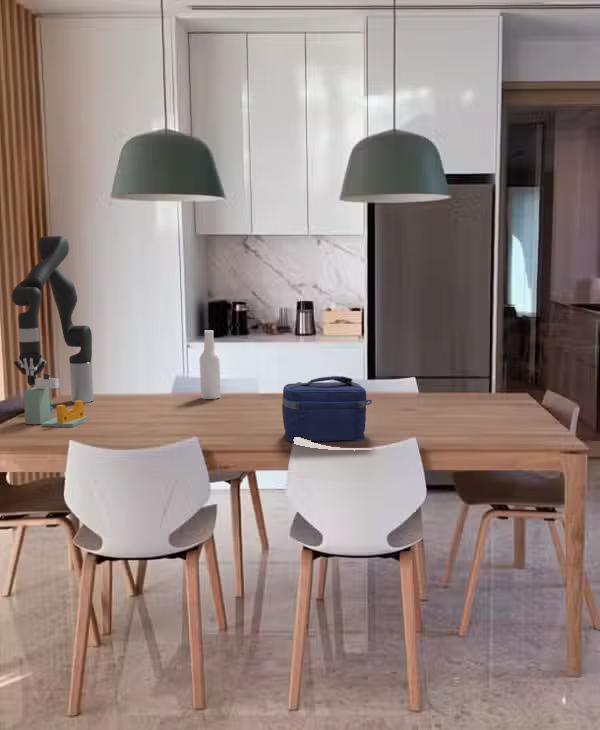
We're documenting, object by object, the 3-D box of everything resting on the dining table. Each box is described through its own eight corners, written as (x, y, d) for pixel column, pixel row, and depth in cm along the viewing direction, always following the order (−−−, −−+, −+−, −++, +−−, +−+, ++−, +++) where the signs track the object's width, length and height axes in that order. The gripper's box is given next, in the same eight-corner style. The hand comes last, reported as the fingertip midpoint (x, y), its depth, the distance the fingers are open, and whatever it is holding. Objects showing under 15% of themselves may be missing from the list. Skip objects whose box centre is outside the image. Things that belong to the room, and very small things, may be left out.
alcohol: (197, 399, 351) (194, 331, 347) (207, 395, 359) (205, 329, 355) (214, 400, 348) (212, 331, 344) (224, 397, 356) (222, 329, 352)
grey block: (39, 386, 307) (38, 372, 306) (59, 386, 306) (58, 372, 305) (35, 388, 303) (34, 374, 303) (55, 388, 302) (54, 374, 302)
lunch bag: (364, 427, 290) (364, 371, 287) (378, 440, 269) (378, 380, 266) (279, 431, 285) (278, 374, 283) (287, 445, 265) (286, 383, 262)
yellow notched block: (75, 416, 312) (74, 400, 311) (84, 417, 310) (83, 400, 309) (53, 422, 301) (52, 405, 300) (62, 423, 299) (61, 406, 298)
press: (39, 418, 315) (37, 385, 313) (88, 418, 312) (86, 385, 310) (21, 426, 300) (19, 392, 298) (73, 427, 298) (71, 392, 296)
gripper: (50, 338, 306) (52, 383, 308) (17, 338, 307) (20, 383, 310) (41, 341, 298) (44, 387, 301) (8, 341, 300) (11, 386, 302)
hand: (32, 385), depth 305 cm, fingers closed
